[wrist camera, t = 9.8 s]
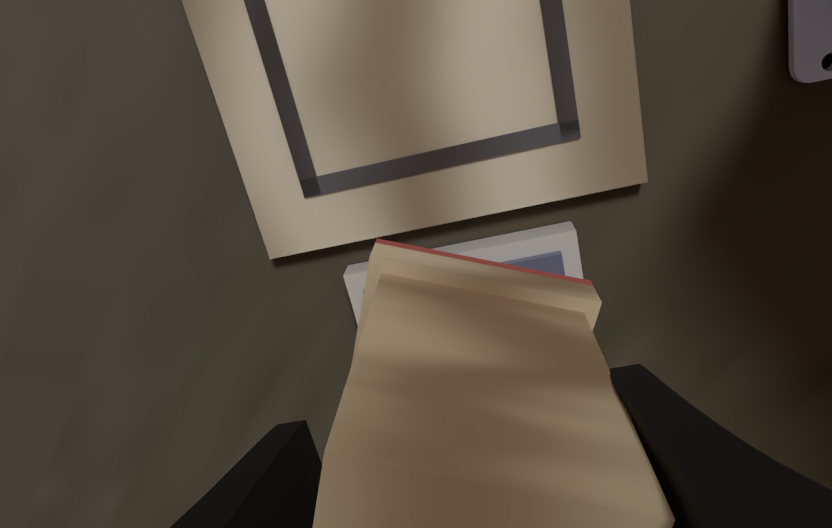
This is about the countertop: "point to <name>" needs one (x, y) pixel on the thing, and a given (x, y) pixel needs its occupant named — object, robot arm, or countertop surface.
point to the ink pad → (500, 255)
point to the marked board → (418, 109)
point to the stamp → (481, 405)
